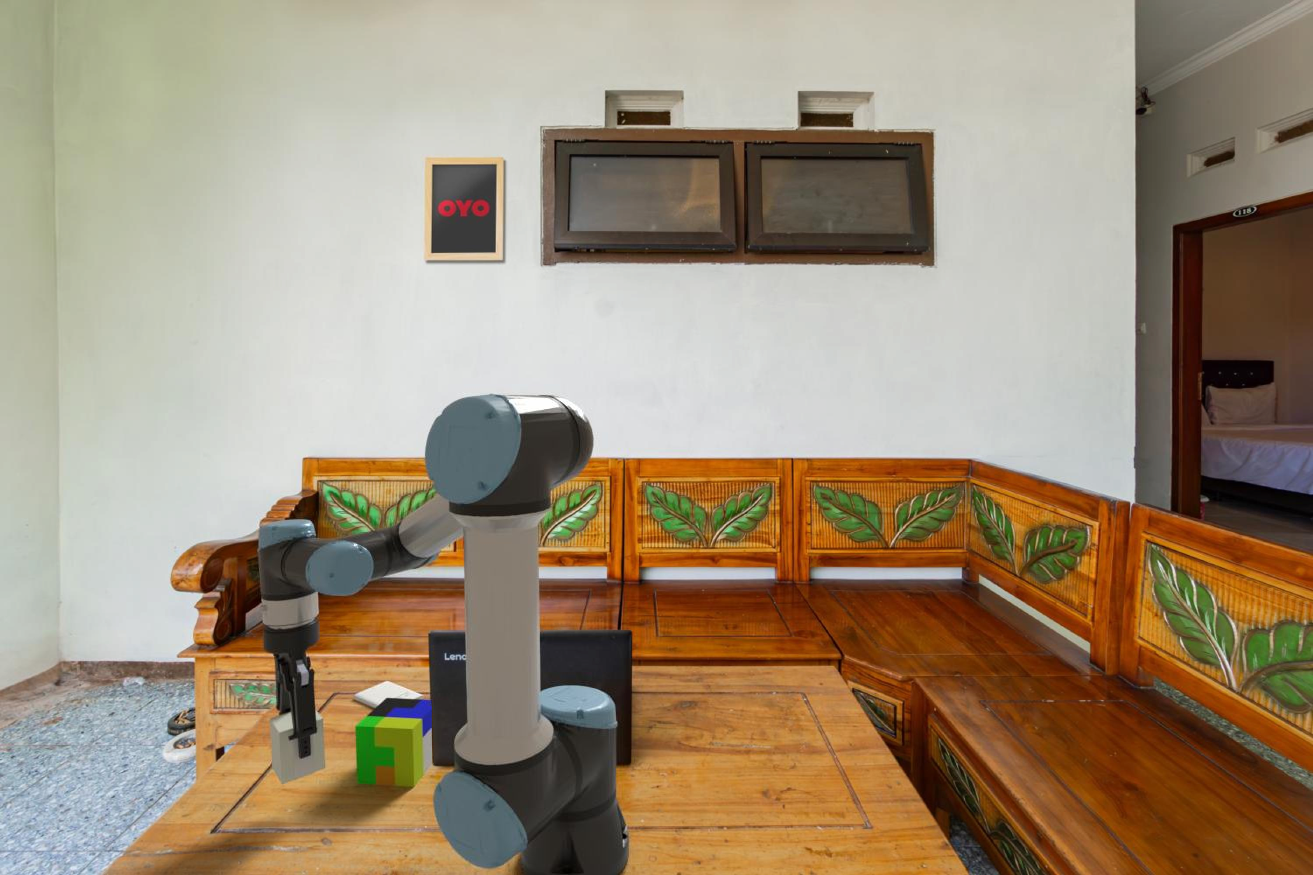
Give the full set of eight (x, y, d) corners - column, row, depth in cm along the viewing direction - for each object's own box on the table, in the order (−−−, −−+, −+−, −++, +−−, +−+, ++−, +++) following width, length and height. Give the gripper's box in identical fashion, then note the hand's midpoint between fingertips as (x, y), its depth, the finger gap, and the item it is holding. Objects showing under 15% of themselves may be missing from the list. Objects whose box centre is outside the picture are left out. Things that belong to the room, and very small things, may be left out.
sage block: (325, 768, 99) (323, 718, 98) (281, 784, 95) (279, 732, 94) (314, 752, 103) (312, 705, 103) (272, 767, 99) (269, 718, 99)
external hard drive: (388, 687, 142) (423, 701, 136) (354, 701, 136) (389, 717, 129) (387, 680, 142) (423, 693, 136) (353, 694, 135) (389, 709, 129)
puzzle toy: (440, 753, 115) (439, 700, 114) (414, 787, 105) (412, 728, 104) (388, 750, 116) (386, 697, 115) (357, 783, 106) (355, 725, 105)
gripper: (249, 612, 102) (257, 751, 103) (278, 643, 88) (286, 804, 89) (301, 601, 107) (307, 734, 108) (336, 629, 93) (343, 781, 94)
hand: (298, 765), depth 99 cm, fingers closed on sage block, 6 cm apart
